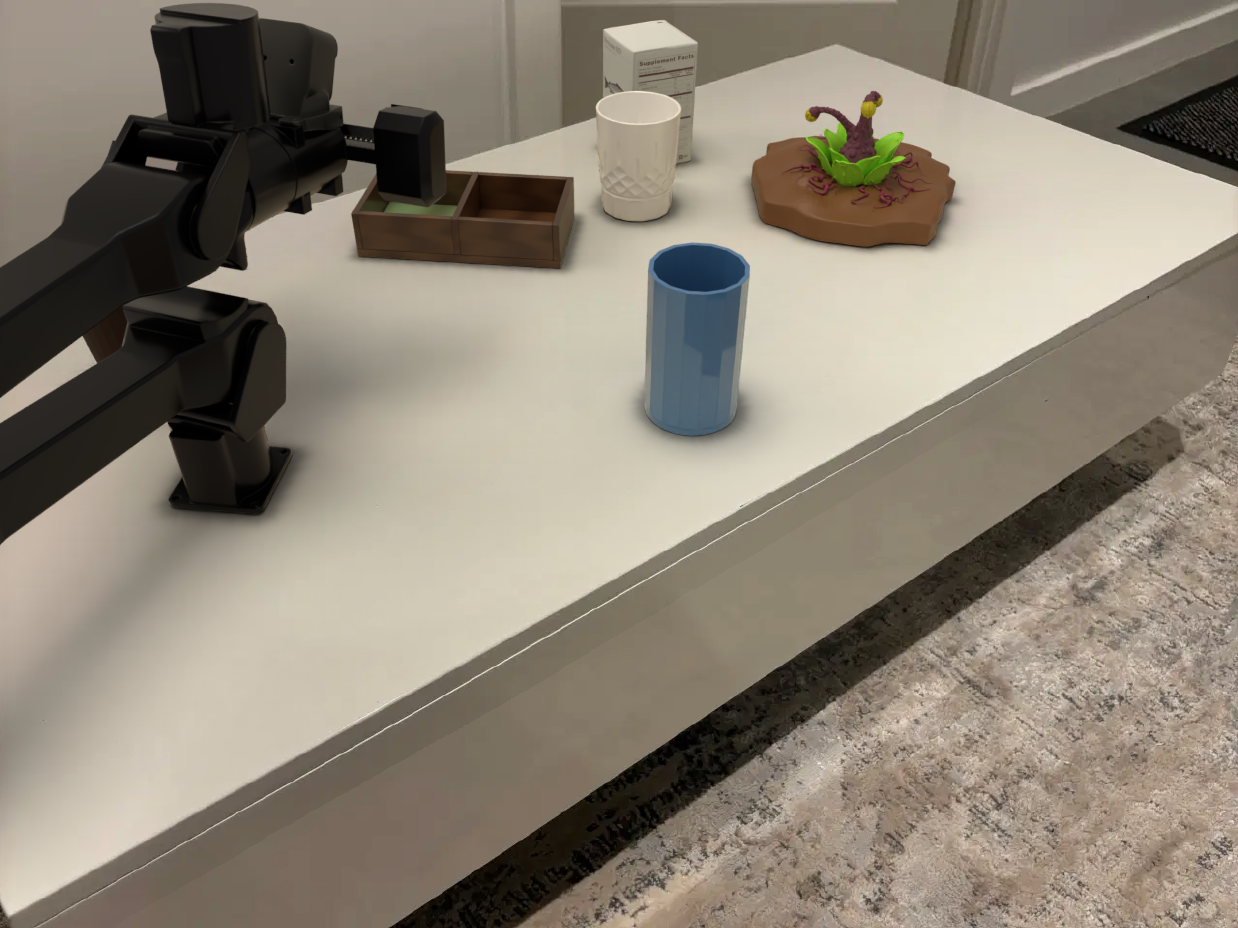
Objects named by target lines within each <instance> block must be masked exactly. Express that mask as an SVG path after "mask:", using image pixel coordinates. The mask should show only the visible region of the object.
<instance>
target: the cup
mask: <svg viewBox="0 0 1238 928" xmlns="http://www.w3.org/2000/svg"><path fill="white" fill-rule="evenodd" d="M647 269H648V270H647V292H646V294H647V295H646V324H645V325H646V327H645V328H646V329H645V330H646V331H645V358H644V359H645V361H644V363H645V365H644V369H645V370H644V397H643V403H644V411H645V414H646V415H647V417H648V419H649V420H650V421H651V422H652V423H653V424H654V425H655V426H657V427H658V428H660V429H662V430H663V431H666V432H669V433H672V434H676V435H681V436H694V437H695V436H704V435H710V434H714V433H716V432H718V431H721V430H723V429H724V428H726V427H727V426H729V425H730V424H731V423H732V422H733V420H734V418H735V416H736V414H737V409H738V400H739V389H740V381H741V380H740V379H741V378H740V377H741V370H742V357H743V348H744V339H745V329H746V328H745V327H746V319H747V318H746V317H747V308H748V297H749V287H750V279H751V278H750V277H751V265H750V264H749V262H748V261H747V260H746V258H745V257H744V256H743V255H742V254H740V253H738V252H736V251H735V250H733V249H731V248H729V247H726V246H722V245H718V244H714V243H708V242H707V243H706V242H685V243H679V244H673V245H670V246H668V247H665V248H662V249H659V250H658V251H657V252H656V253H655V254H654V255H653V256H652V257H650V259H649V261H648V267H647Z"/></svg>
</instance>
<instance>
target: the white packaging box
mask: <svg viewBox="0 0 1238 928" xmlns="http://www.w3.org/2000/svg"><path fill="white" fill-rule="evenodd" d="M602 45H603V46H602V52H603V53H602V99H603V98H604V97H606V96H609V95H612V94H615V93H620V92H627V91H647V92H654V93H659V94H663V95H666V96H669V97H671V98H673V99H674V100H676V101H677V102H678V103H679V104H680V106H681V116H680V126H679V138H678V149H677V159H676V165H678V164H682V163H683V164H684V163H686V162H690V161H692V151H693V135H694V134H693V133H694V118H695V117H694V116H695V99H696V84H697V83H696V82H697V66H698V50H699V43H698V42H697V40H695V39H693V38H692V37H690V36H689V35H687V34H686V33H684V32H683V31H682V30H680V29H678V28H677V27H676V26H674V25H672V24H671V23H670V22H668V21H667V20H665V19H659V20H651V21H646V22H645V21H644V22H638V23H632V24H626V25H625V24H624V25H618V26H611V27H606V28H603V30H602Z"/></svg>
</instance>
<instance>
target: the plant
mask: <svg viewBox="0 0 1238 928" xmlns="http://www.w3.org/2000/svg"><path fill="white" fill-rule="evenodd" d="M883 101H884V99H883V96H882V94H880V93H879V91H877V90H871V91H870V93H868V94H866V95H865V97H864V99H863V101H862V103H861V106H860V115H859V119H858V121H857V123H856V124H854V123H853V122H852V121H851V120H849V119H848V117H847V116H846V115H844V113H842V112H841V111H840V110H837V109H835V108H832V107H829V106H818V105H815V106H811V107H809V108H808V109H807V110H806V111H805V113H804V118H805V120H806V121H808V123H814V122H816V121H817V120H818V119H819V117H820V116H821V114H827V115H830V116H832V117H833V118H835V119H836V121H838V124H837V127H836V131H835V132H836V133H835V132H834V131H832V130H831V129H829V128H824V130H823V135H824V136H823V135H822V134H819V135H812V136H802V137H801V136H800V137H790V138H786V139H783V140H779V141H774V142H769V143H768V144H767V145H766V152H765V155H764V156H761V157H759V158H758V159H755V160H754V161H753V164H752V167H751V178H750V179H751V180H750V181H751V185H752V190H753V193H754V196H755V197H754V198H755V199H756V204H757V210H758V213H759V218H760V220H761V221H762V222H763V223H764V224H768V225H771V226H774V227H779V228H782V229H785V230H788V231H791V232H794V233H795V234H798V235H800V236H801V237H804V238H807V239H811V240H815V241H820V242H826V243H835V244H842V245H849V246H854V247H855V246H856V247H865V248H867V247H874V246H877V245H882V244H905V245H919V246H928V244H929V243H930V242H931V240H934V238H936V234H937V230H938V226H939V223H940V222H941V221H942V218H943V214H944V210H945V205H946V202H948V201H950V200H952V199H953V195H954V191H955V186H956V180H955V179H954V178H952V177H951V176H949V175H950V171H951V168H950V166H949V165H947V164H945V163H943V162H941V161H939V160H936V159H935V158H932V157H933V154H932V152H931V151H930V150H927V149H925V148H924V147H923V148H922V147H920V146H917V145H914V144H910V143H908V142H902V141H903V140H904V138H905V132H904V131H897V132H896V131H895V132H891V133H888V134H886V135H884V136H882V137H880V138H875V137H874V131H875V130H874V128H873V116H875V114H876V113H877V108H879V107H881V106H882V104H883Z"/></svg>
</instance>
